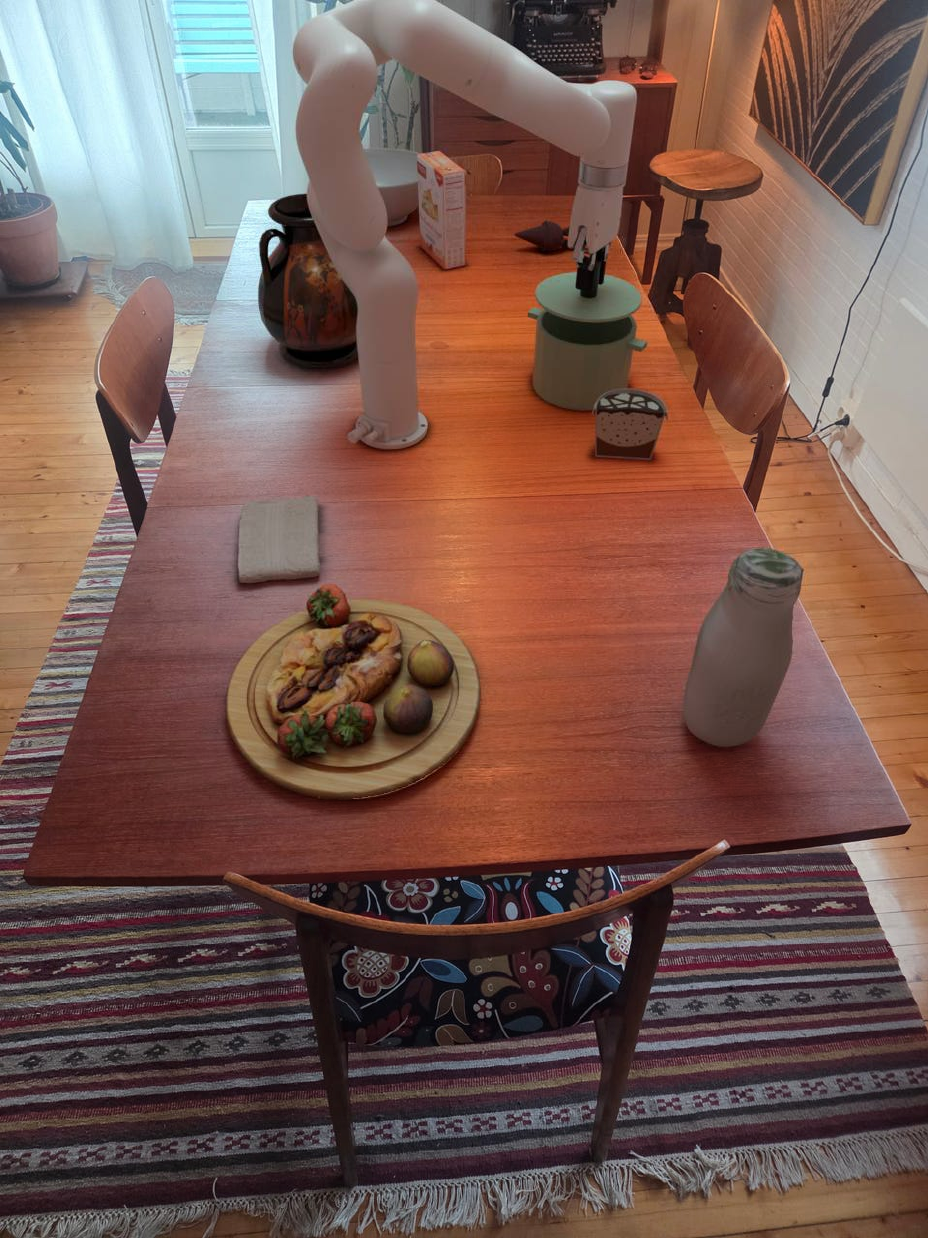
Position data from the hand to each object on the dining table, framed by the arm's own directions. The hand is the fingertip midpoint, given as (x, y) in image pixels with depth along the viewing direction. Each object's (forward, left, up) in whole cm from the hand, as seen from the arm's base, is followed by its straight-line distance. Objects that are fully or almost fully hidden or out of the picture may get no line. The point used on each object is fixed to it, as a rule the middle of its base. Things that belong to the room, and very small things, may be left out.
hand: (589, 285), depth 152 cm
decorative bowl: (+43, +80, -20) cm, 93 cm away
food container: (-14, -16, -20) cm, 29 cm away
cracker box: (+32, +54, -20) cm, 66 cm away
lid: (0, 0, -2) cm, 2 cm away
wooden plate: (-83, -13, -20) cm, 86 cm away
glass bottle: (-62, -53, -20) cm, 84 cm away
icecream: (+49, +36, -20) cm, 64 cm away
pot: (0, 0, -19) cm, 19 cm away
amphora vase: (-18, +48, -20) cm, 55 cm away
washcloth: (-66, +15, -20) cm, 70 cm away
